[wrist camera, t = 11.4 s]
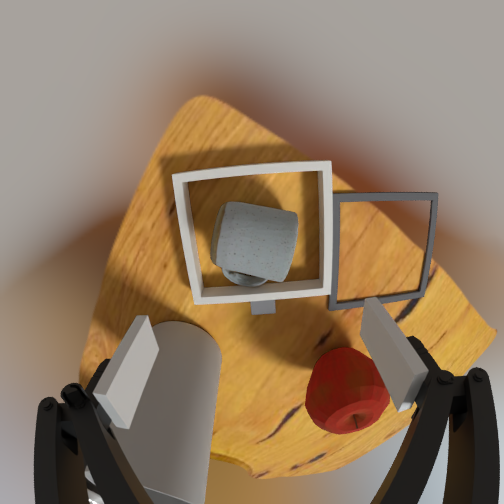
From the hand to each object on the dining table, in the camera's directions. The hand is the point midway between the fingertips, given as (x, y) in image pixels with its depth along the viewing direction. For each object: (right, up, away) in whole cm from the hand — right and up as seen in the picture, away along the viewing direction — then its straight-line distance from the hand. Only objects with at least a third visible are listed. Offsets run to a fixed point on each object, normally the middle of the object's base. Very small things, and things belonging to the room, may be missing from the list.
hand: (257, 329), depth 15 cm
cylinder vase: (-11, -11, +24) cm, 29 cm away
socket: (0, +7, +17) cm, 18 cm away
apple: (+13, -13, +25) cm, 31 cm away
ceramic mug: (0, +6, +18) cm, 19 cm away
